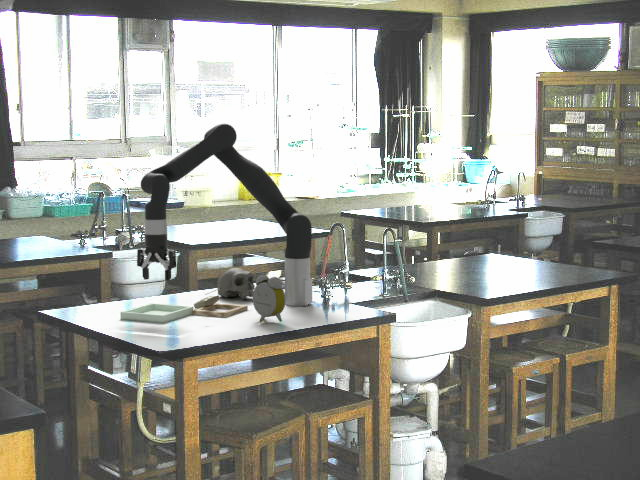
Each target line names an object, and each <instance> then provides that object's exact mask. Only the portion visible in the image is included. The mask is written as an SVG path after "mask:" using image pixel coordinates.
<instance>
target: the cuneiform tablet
mask: <svg viewBox="0 0 640 480" xmlns="http://www.w3.org/2000/svg"><path fill="white" fill-rule="evenodd" d="M220 289H221V288H220ZM218 290H219V289H216V290H215V289H214V290H212V291H209V292H208V293H205V294H204V295H208V294H212V293H213V292H216V291H218ZM220 298H221V297H220V295H209V296H207V297H204V298H201V299H200V300H199V301H196V302H194V304H193V308H195V309H198V308H201V307H205V306H210V305H213V304H215V303H218V301H220Z"/></svg>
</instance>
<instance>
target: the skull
mask: <svg viewBox="0 0 640 480" xmlns="http://www.w3.org/2000/svg"><path fill="white" fill-rule="evenodd" d="M254 277H255V274H254V273H253V272H252V271H248V270H245V269H243V268H240V267H231V268H229V269H227V270H226V271H225V272H224V273H222V275H220V277H219V278H218V280H217V284H216V285H217V287H216V288H217V289H219V290H217V289H216V290H217V294H218V295H219V297H223V298H226V299H227V298H231V297H240V299H241V300H246V298H247V297H250V298H253V291H254V289H255V287H256V286H255V285H256V284H254ZM220 288H221V289H220Z"/></svg>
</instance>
